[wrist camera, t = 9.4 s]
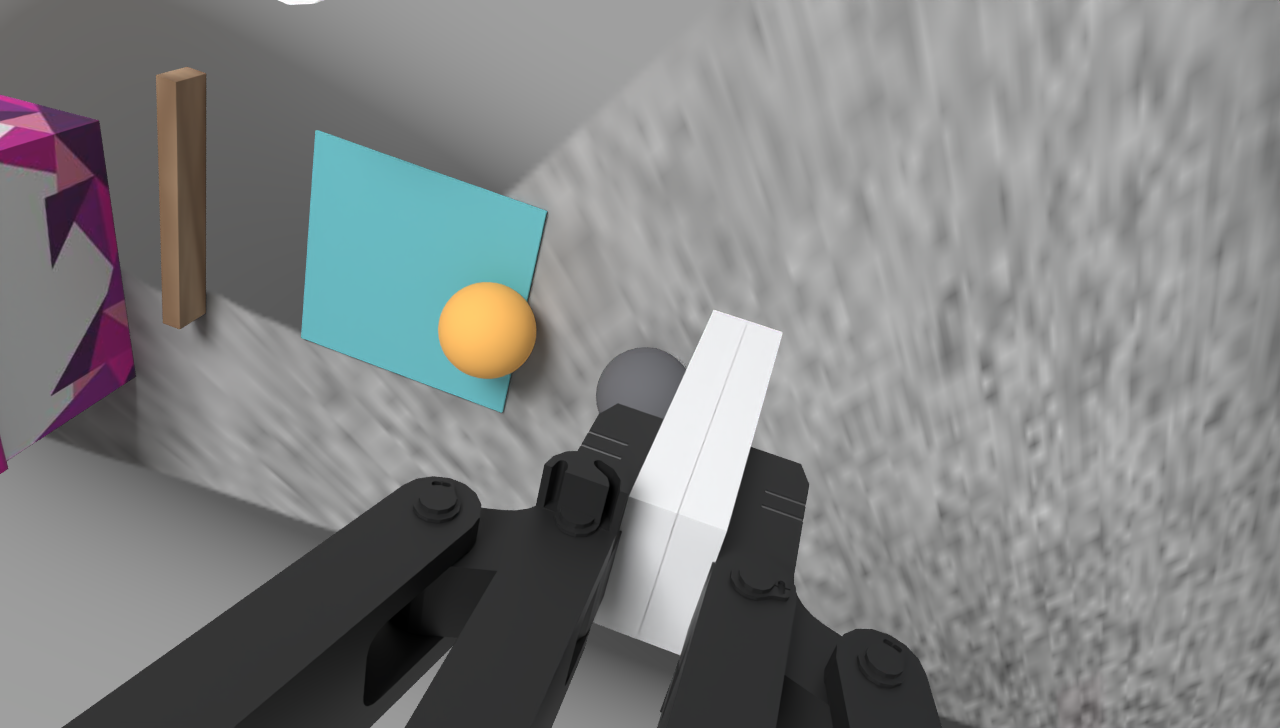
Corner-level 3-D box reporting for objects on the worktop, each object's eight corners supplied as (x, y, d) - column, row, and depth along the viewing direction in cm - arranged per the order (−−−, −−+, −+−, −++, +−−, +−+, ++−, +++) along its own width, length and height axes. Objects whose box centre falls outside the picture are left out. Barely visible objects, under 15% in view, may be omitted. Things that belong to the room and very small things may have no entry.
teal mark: (547, 211, 49) (546, 212, 49) (502, 411, 56) (501, 412, 56) (317, 130, 50) (315, 130, 50) (302, 336, 57) (301, 337, 57)
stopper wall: (206, 73, 50) (175, 82, 48) (205, 313, 58) (179, 329, 56) (187, 66, 50) (156, 75, 48) (189, 306, 59) (162, 322, 56)
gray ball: (610, 382, 46) (598, 325, 50) (595, 463, 49) (585, 403, 53) (712, 388, 47) (692, 332, 51) (691, 467, 50) (674, 407, 54)
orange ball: (529, 326, 47) (430, 293, 47) (509, 409, 49) (416, 377, 49) (556, 285, 51) (467, 254, 51) (536, 362, 54) (451, 333, 54)
